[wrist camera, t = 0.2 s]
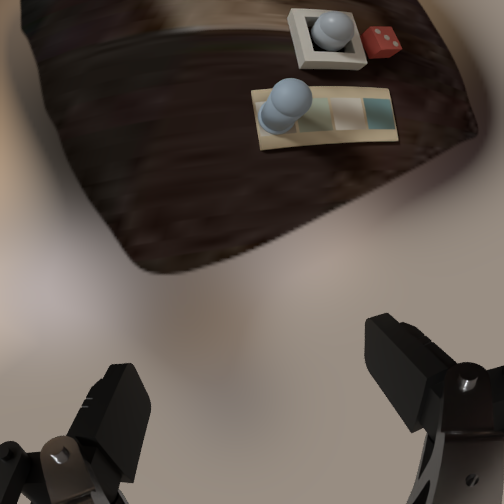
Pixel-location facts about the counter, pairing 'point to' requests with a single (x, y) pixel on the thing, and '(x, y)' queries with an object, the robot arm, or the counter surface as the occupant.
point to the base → (323, 60)
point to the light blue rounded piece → (332, 30)
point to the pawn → (285, 106)
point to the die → (380, 42)
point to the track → (334, 118)
